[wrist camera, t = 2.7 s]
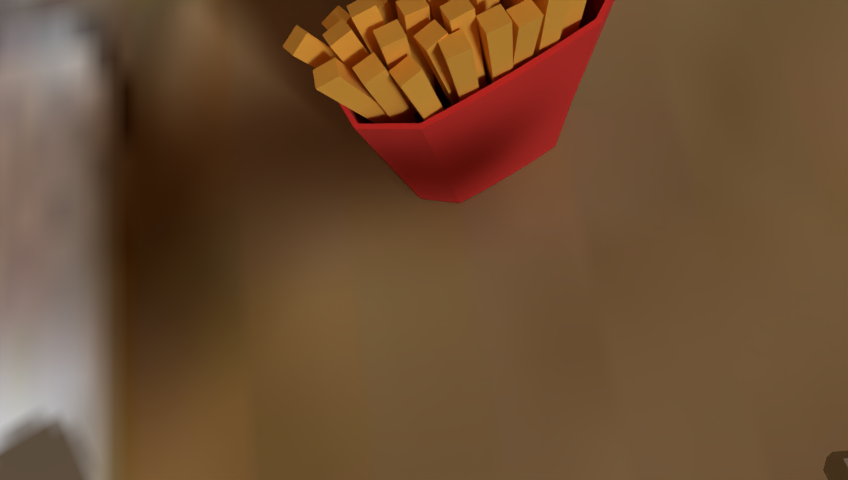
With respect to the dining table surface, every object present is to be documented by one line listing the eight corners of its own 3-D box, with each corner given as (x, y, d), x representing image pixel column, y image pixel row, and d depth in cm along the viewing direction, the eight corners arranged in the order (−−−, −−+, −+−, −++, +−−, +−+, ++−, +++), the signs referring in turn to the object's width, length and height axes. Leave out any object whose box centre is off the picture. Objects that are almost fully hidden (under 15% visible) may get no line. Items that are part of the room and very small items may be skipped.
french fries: (545, 37, 28) (578, -216, 16) (604, 122, 27) (683, -81, 16) (350, 153, 28) (243, -18, 16) (403, 242, 27) (330, 128, 15)
